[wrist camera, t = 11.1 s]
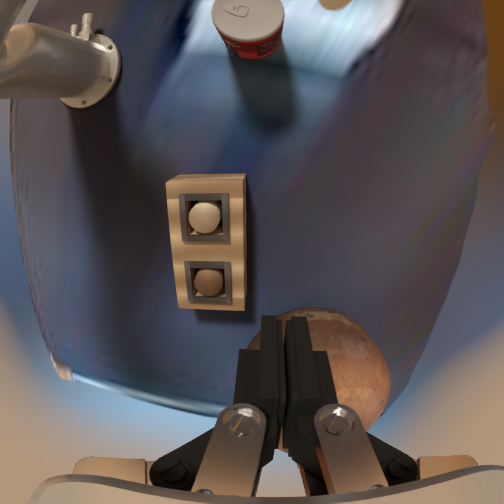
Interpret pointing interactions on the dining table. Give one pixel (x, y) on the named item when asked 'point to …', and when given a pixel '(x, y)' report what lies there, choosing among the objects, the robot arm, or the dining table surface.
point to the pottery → (345, 361)
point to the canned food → (249, 26)
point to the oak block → (209, 239)
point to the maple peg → (206, 215)
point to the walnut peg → (209, 281)
